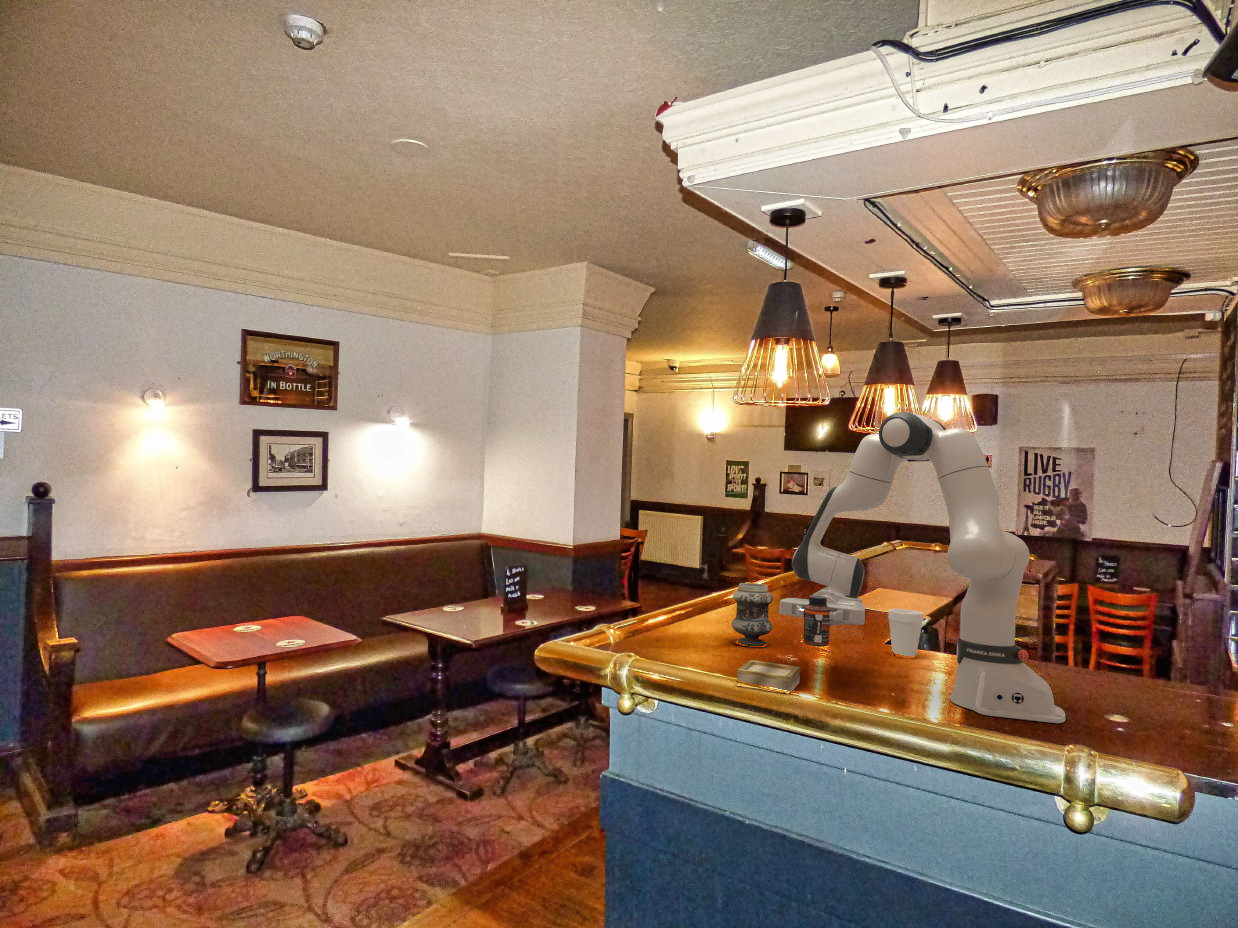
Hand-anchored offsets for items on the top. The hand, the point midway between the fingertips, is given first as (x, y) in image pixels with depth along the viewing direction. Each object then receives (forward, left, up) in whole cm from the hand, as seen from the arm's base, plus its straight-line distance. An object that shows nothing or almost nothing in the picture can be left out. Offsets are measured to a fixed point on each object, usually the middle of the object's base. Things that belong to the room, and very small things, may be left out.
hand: (816, 614), depth 172 cm
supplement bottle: (0, -1, -7) cm, 7 cm away
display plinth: (+10, +3, -17) cm, 20 cm away
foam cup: (-16, -54, -17) cm, 59 cm away
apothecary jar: (+26, -41, -17) cm, 51 cm away
